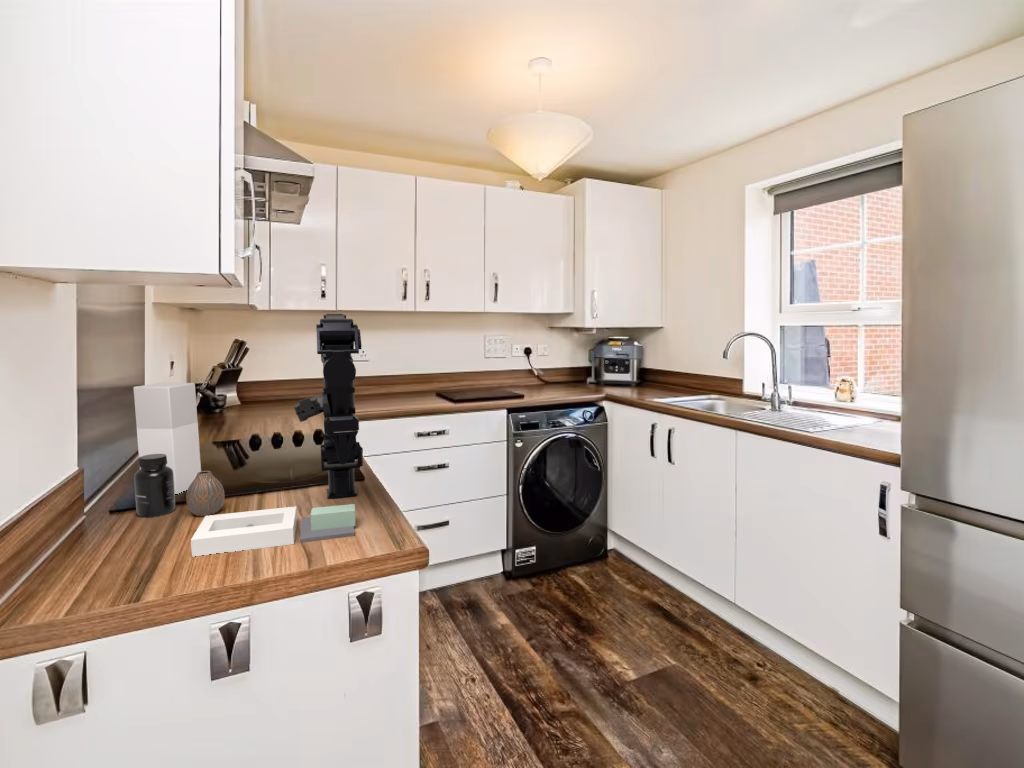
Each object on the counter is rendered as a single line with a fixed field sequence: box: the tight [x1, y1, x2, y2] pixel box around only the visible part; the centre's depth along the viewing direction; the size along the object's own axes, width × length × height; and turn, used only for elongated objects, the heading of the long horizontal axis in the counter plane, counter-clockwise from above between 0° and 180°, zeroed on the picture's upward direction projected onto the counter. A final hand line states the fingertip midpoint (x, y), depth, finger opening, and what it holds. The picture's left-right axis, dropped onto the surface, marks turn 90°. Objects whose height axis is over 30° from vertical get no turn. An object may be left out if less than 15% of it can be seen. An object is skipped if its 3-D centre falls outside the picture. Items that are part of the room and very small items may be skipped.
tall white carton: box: [133, 382, 202, 495], centre depth 127 cm, size 9×9×25 cm
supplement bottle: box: [133, 454, 176, 518], centre depth 112 cm, size 7×7×12 cm
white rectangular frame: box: [190, 505, 298, 558], centre depth 99 cm, size 12×16×3 cm
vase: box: [185, 470, 225, 517], centre depth 111 cm, size 7×7×9 cm
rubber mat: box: [299, 516, 355, 543], centre depth 104 cm, size 11×10×1 cm
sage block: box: [310, 503, 356, 530], centre depth 104 cm, size 4×8×3 cm, turn 107°
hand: (341, 458), depth 109 cm, fingers open, 9 cm apart
